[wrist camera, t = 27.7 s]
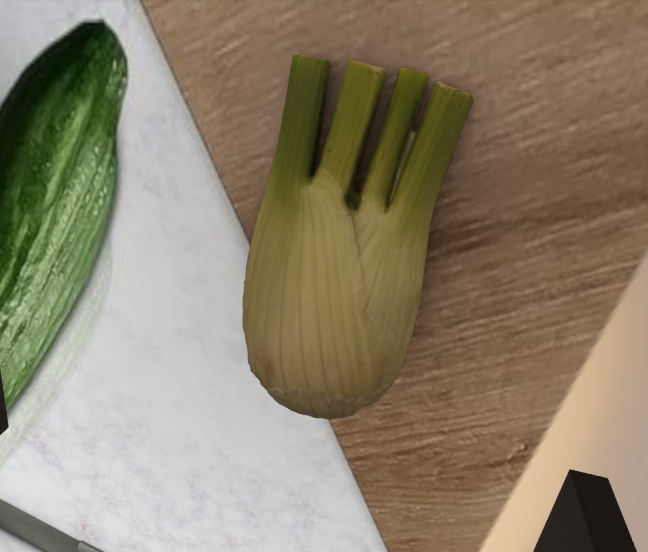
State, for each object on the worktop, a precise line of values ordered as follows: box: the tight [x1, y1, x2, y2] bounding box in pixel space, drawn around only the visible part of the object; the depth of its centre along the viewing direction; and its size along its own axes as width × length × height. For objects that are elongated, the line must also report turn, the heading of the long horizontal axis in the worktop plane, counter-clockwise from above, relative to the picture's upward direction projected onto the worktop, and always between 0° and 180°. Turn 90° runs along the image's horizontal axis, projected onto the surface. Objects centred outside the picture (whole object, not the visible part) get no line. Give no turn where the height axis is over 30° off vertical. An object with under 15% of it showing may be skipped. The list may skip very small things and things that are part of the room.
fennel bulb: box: [243, 54, 473, 419], centre depth 19 cm, size 6×5×12 cm
